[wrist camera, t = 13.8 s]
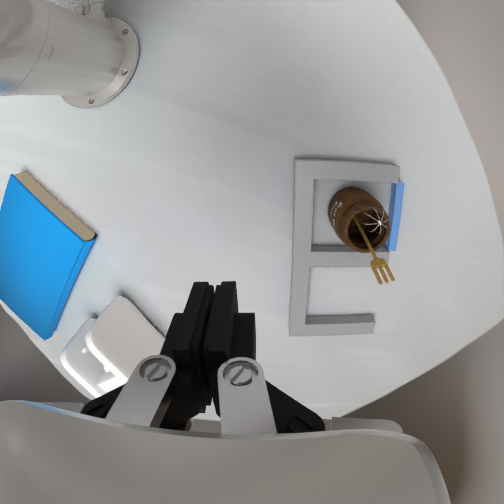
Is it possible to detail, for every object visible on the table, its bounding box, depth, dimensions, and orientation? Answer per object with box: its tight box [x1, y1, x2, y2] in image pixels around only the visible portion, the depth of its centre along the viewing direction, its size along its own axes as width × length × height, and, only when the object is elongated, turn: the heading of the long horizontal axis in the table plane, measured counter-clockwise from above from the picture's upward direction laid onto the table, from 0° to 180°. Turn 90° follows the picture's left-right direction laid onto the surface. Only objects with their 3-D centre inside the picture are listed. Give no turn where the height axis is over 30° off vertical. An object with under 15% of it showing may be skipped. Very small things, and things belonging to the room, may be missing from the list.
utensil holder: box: [328, 188, 395, 285], centre depth 29 cm, size 6×6×12 cm
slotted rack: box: [289, 158, 404, 336], centre depth 36 cm, size 23×13×2 cm, turn 1°
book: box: [0, 171, 97, 340], centre depth 39 cm, size 17×4×25 cm
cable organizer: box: [60, 296, 165, 398], centre depth 39 cm, size 15×11×12 cm
